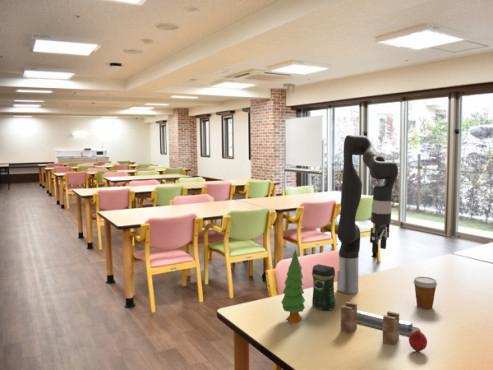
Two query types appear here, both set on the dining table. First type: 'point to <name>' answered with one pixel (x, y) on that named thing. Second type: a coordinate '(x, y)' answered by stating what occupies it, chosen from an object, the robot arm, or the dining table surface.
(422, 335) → the onion
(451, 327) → the dining table surface
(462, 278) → the dining table surface
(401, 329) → the mat
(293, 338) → the dining table surface
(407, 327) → the rail
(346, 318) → the post
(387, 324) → the post
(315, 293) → the coffee jar
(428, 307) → the disposable coffee cup
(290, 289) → the decorative tree
